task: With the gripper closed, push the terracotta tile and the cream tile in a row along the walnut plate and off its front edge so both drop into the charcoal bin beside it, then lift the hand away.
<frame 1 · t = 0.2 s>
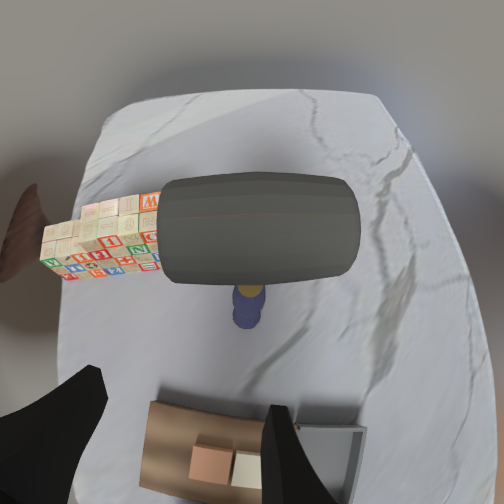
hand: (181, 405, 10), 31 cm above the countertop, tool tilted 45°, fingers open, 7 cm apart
rubber mallet: (246, 318, 43), on the countertop
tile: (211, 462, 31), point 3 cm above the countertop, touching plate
bin: (319, 466, 33), on the countertop
plate: (216, 457, 33), on the countertop
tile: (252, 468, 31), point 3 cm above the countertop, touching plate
stack of blocks: (118, 259, 46), on the countertop
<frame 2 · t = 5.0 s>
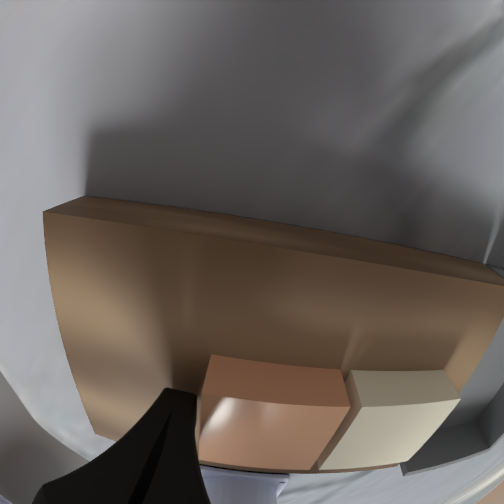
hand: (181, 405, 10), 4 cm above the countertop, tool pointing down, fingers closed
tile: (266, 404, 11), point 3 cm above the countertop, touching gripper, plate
bin: (483, 365, 14), on the countertop
plate: (275, 361, 14), on the countertop
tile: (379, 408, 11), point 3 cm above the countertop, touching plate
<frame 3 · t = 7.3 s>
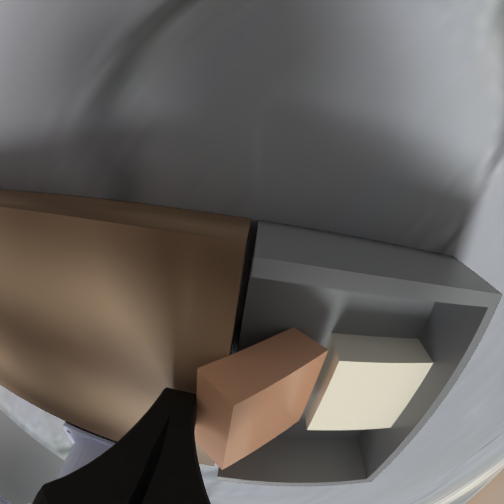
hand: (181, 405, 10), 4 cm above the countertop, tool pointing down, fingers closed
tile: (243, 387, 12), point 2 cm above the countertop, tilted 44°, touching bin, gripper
bin: (328, 366, 14), on the countertop
plate: (62, 314, 14), on the countertop
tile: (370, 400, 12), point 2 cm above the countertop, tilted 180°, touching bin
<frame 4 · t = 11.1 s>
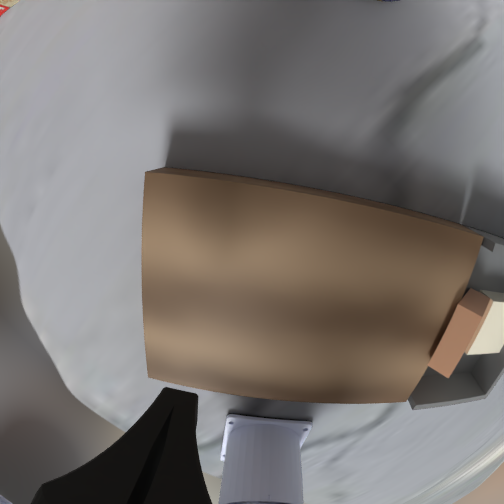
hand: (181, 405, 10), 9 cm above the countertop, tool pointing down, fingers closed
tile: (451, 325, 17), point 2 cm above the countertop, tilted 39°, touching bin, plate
bin: (471, 314, 19), on the countertop
plate: (307, 297, 19), on the countertop
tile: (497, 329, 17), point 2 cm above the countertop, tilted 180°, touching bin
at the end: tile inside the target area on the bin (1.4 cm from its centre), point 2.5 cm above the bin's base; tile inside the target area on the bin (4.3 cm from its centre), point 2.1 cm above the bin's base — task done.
